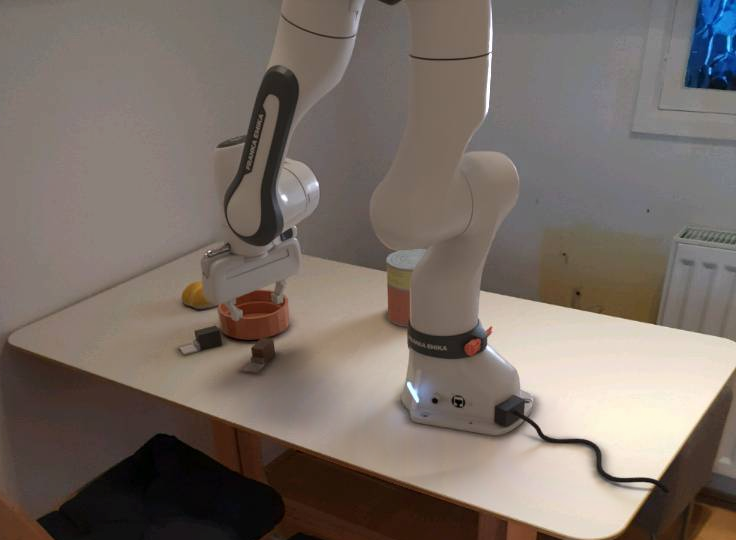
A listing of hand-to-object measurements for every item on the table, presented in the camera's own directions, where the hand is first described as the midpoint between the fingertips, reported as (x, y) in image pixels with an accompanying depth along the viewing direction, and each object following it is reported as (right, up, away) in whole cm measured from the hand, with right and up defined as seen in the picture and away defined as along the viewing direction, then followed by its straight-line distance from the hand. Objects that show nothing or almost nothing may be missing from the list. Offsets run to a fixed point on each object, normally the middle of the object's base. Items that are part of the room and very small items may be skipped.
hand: (257, 310), depth 151 cm
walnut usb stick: (0, -9, +5) cm, 10 cm away
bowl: (-2, +1, +17) cm, 18 cm away
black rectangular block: (-13, -4, +11) cm, 17 cm away
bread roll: (-15, +9, +29) cm, 34 cm away
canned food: (+30, +3, +18) cm, 35 cm away
